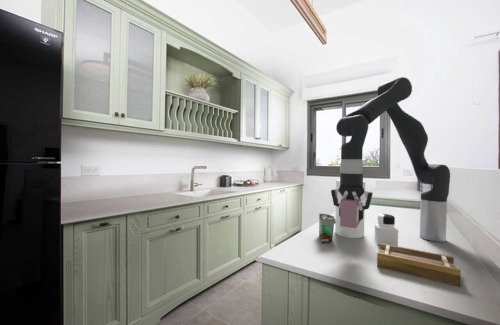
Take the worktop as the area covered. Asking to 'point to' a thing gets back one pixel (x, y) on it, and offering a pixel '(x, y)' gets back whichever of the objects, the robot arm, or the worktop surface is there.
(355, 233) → the cylinder
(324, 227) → the food container
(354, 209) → the tea box
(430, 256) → the wooden serving tray
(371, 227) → the worktop surface
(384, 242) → the medicine bottle
